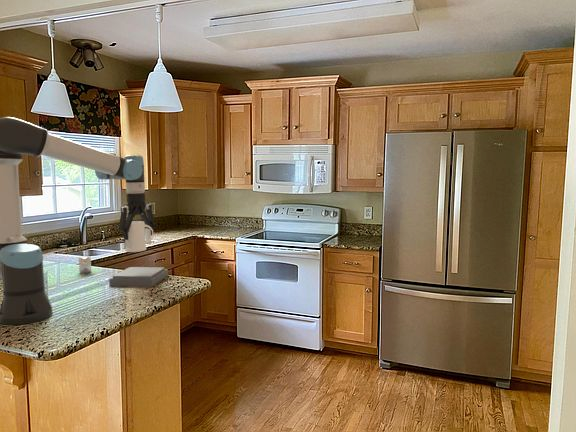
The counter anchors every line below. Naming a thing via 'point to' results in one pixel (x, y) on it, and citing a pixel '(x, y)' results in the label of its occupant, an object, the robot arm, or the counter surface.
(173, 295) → the counter surface
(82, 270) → the spice tin
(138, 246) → the mug
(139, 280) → the podium
